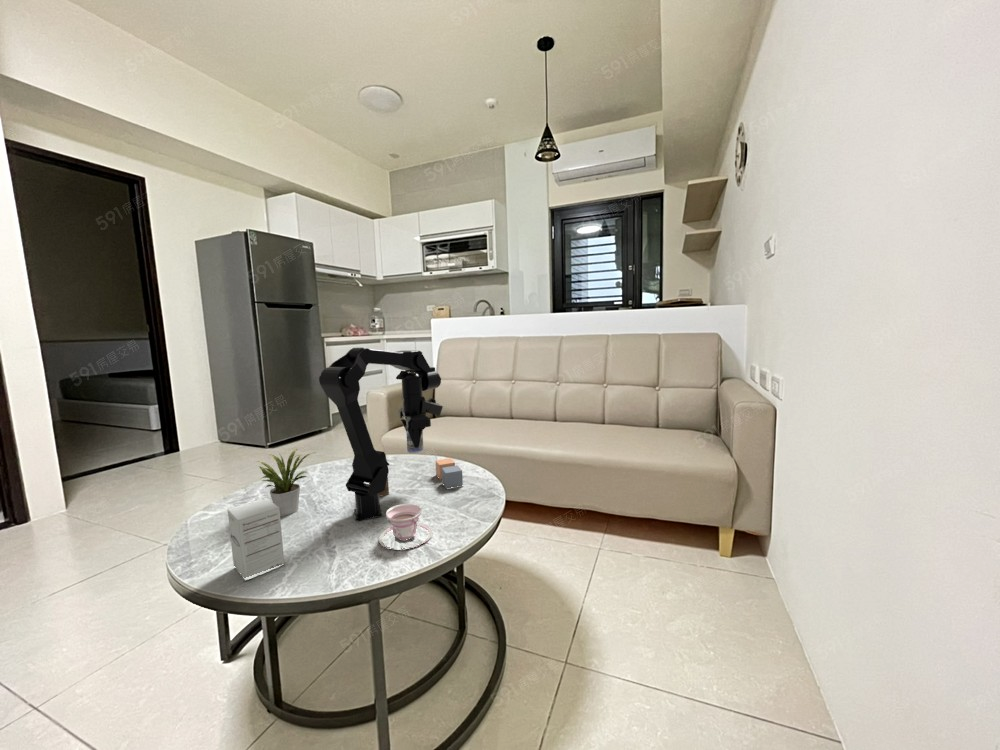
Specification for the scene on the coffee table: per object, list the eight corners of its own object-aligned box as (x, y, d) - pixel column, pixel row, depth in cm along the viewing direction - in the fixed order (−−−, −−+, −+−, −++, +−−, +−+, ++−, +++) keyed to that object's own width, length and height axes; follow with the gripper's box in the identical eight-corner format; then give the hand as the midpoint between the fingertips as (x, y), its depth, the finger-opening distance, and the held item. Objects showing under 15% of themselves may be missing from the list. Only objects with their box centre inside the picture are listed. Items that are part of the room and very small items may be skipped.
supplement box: (232, 568, 79) (226, 508, 78) (273, 552, 85) (267, 496, 83) (243, 583, 74) (236, 519, 73) (285, 565, 80) (280, 506, 78)
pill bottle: (404, 452, 116) (402, 424, 115) (415, 448, 120) (414, 421, 119) (415, 454, 114) (413, 426, 113) (427, 450, 118) (425, 422, 117)
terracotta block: (455, 477, 125) (454, 462, 125) (440, 480, 123) (439, 465, 123) (451, 472, 130) (450, 457, 129) (436, 475, 128) (435, 460, 127)
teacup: (369, 538, 90) (367, 512, 89) (414, 519, 98) (413, 495, 97) (395, 558, 81) (394, 530, 81) (443, 536, 90) (442, 510, 89)
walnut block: (389, 494, 114) (387, 477, 113) (370, 497, 112) (369, 480, 111) (387, 488, 118) (386, 472, 118) (369, 491, 116) (368, 475, 116)
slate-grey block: (462, 486, 118) (462, 470, 117) (446, 489, 116) (445, 473, 116) (458, 480, 123) (457, 465, 122) (442, 483, 121) (441, 467, 120)
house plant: (316, 493, 115) (311, 439, 114) (326, 510, 104) (321, 450, 102) (259, 507, 107) (253, 449, 106) (263, 527, 96) (257, 462, 94)
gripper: (447, 395, 110) (449, 449, 111) (432, 387, 127) (434, 434, 128) (407, 398, 105) (410, 455, 107) (397, 390, 123) (399, 439, 124)
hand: (415, 445), depth 117 cm, fingers closed on pill bottle, 5 cm apart
